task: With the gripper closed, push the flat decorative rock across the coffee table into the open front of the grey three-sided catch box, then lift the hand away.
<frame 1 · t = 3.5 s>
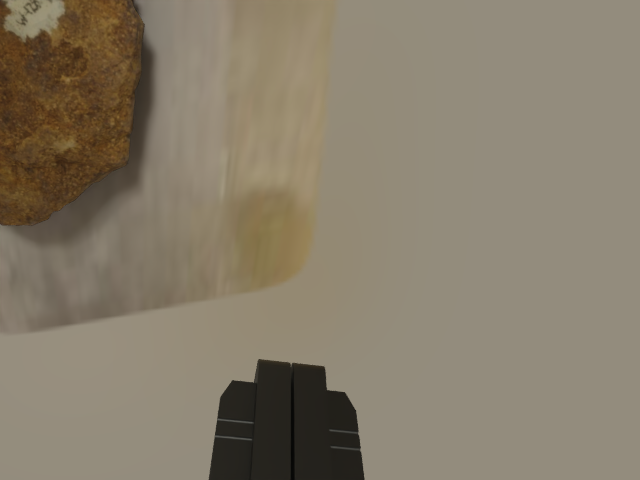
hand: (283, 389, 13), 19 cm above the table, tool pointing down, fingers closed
decorative rock: (31, 70, 28), on the table
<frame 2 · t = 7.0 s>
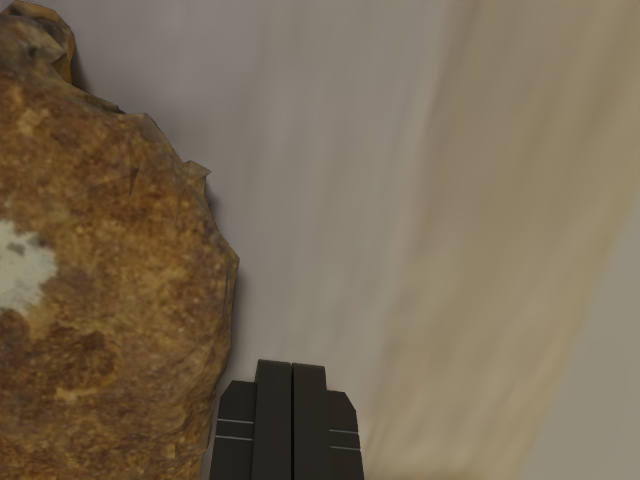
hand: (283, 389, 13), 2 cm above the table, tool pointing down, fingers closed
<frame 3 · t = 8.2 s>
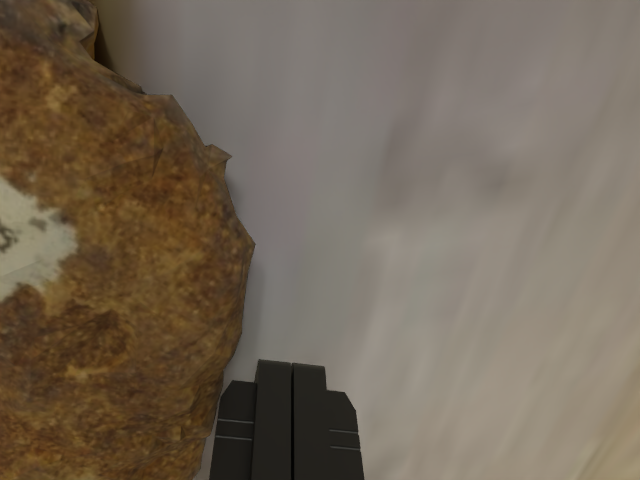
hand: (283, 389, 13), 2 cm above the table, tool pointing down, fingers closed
decorative rock: (5, 289, 14), on the table
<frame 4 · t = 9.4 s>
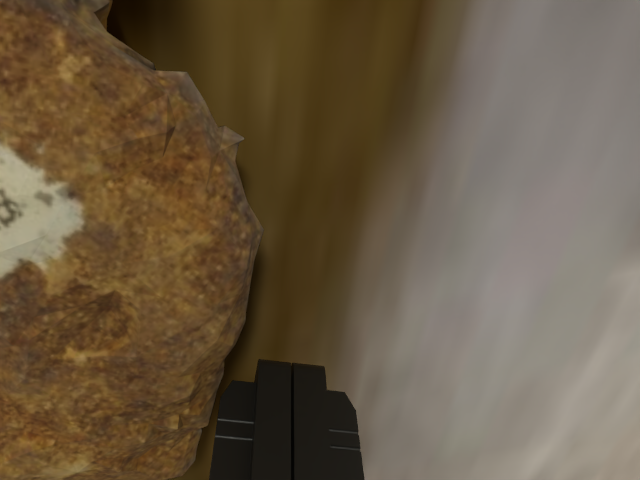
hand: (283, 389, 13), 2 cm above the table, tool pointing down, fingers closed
decorative rock: (1, 269, 14), on the table
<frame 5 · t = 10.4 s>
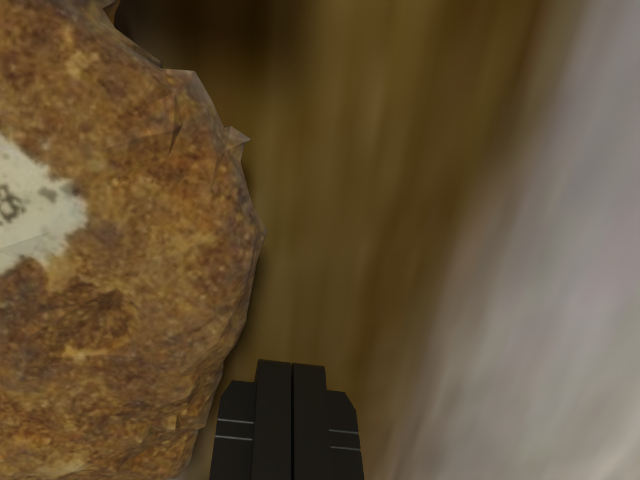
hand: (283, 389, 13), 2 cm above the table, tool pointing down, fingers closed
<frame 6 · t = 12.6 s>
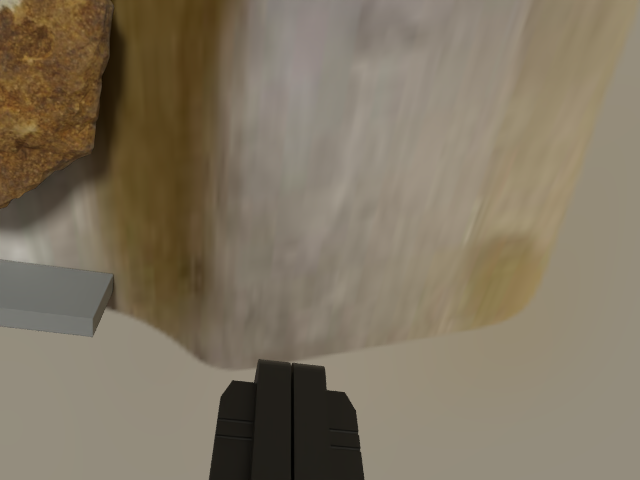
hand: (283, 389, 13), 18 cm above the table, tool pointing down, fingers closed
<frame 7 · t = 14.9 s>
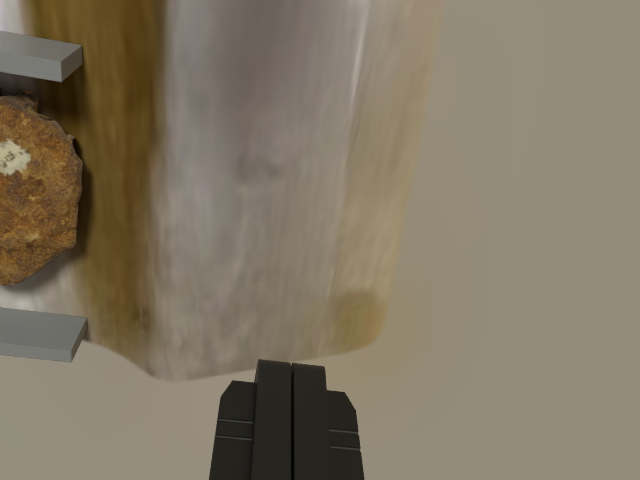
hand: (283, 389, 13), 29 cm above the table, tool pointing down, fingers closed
decorative rock: (11, 183, 42), on the table
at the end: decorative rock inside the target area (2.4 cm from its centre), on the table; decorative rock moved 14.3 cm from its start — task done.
